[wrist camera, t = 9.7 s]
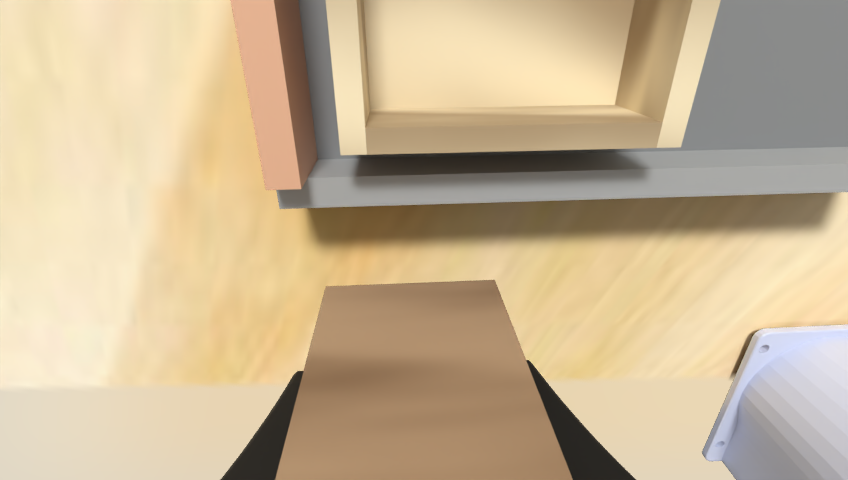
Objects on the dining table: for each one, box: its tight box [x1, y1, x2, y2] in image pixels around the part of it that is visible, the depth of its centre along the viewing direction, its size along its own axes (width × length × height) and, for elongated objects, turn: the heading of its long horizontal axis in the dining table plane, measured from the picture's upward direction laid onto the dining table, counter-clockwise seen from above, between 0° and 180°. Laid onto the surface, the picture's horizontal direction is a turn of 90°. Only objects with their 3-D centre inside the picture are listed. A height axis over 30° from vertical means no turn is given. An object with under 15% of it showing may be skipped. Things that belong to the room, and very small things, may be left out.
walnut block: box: [275, 280, 573, 480], centre depth 10 cm, size 4×4×6 cm
